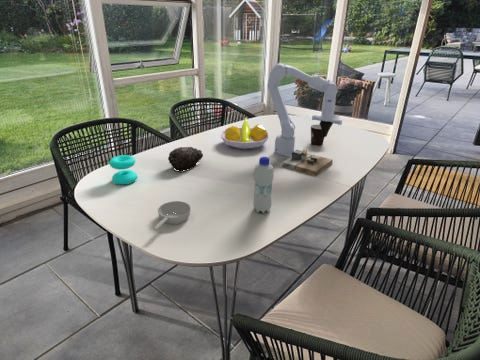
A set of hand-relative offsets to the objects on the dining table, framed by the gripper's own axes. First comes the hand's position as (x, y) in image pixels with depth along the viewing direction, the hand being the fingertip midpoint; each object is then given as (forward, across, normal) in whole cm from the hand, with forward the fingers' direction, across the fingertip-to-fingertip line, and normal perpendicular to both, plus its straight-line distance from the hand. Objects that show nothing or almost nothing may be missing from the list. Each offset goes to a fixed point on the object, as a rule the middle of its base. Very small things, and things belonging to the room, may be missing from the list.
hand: (324, 136), depth 159 cm
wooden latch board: (+10, 0, -15) cm, 18 cm away
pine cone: (+11, -44, -52) cm, 69 cm away
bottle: (+11, +6, -63) cm, 64 cm away
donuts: (+11, -52, -79) cm, 95 cm away
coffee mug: (+11, -11, +17) cm, 23 cm away
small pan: (+11, -13, -89) cm, 91 cm away
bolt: (+8, -5, -15) cm, 18 cm away
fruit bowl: (+11, -41, -10) cm, 44 cm away
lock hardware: (+8, -3, -15) cm, 17 cm away
